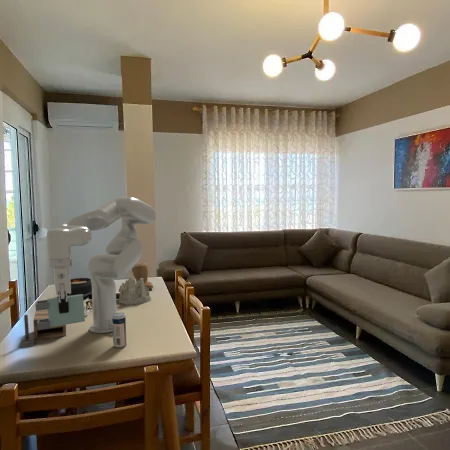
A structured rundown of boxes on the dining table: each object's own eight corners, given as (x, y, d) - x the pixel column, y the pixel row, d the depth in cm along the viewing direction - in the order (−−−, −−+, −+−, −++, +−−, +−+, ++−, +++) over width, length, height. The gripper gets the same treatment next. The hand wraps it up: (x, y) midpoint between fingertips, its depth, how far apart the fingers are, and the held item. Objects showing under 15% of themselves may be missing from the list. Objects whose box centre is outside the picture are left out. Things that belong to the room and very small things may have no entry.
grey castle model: (153, 301, 189) (150, 273, 188) (121, 307, 182) (118, 277, 181) (146, 296, 203) (144, 269, 202) (116, 301, 196) (114, 273, 195)
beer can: (129, 345, 133) (128, 313, 132) (117, 349, 130) (116, 317, 129) (122, 342, 136) (121, 311, 135) (110, 346, 133) (109, 314, 132)
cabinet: (25, 331, 148) (23, 304, 147) (65, 325, 154) (64, 299, 153) (20, 347, 132) (18, 317, 131) (66, 340, 139) (64, 311, 138)
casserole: (65, 290, 213) (64, 276, 212) (98, 288, 217) (97, 275, 217) (55, 302, 189) (55, 287, 188) (93, 300, 193) (92, 284, 192)
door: (38, 326, 130) (36, 299, 129) (84, 318, 137) (82, 293, 136) (37, 330, 127) (35, 302, 126) (85, 322, 133) (83, 296, 132)
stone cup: (131, 285, 223) (131, 262, 222) (151, 284, 226) (150, 260, 225) (132, 292, 208) (132, 266, 207) (153, 290, 212) (152, 265, 211)
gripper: (72, 265, 124) (75, 316, 126) (71, 257, 138) (74, 303, 140) (48, 267, 121) (52, 320, 123) (49, 259, 135) (53, 306, 137)
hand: (64, 311), depth 132 cm, fingers closed on door, 2 cm apart
